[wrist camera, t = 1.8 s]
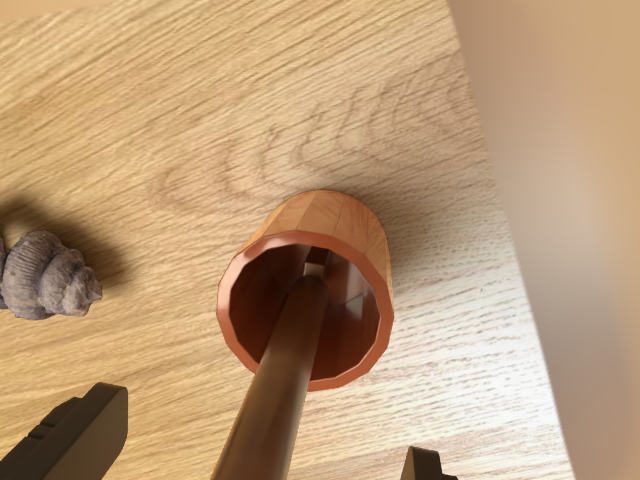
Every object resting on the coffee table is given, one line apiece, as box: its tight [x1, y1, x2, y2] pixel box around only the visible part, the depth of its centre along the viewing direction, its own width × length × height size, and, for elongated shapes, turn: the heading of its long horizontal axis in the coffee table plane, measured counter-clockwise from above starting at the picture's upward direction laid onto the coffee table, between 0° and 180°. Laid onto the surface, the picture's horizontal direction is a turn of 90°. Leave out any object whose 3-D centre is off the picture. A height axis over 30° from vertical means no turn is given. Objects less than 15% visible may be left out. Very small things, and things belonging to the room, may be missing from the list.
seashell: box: [0, 230, 103, 320], centre depth 27 cm, size 5×5×10 cm
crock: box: [216, 190, 394, 392], centre depth 23 cm, size 8×8×8 cm
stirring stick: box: [210, 246, 332, 480], centre depth 18 cm, size 3×2×18 cm, turn 172°
